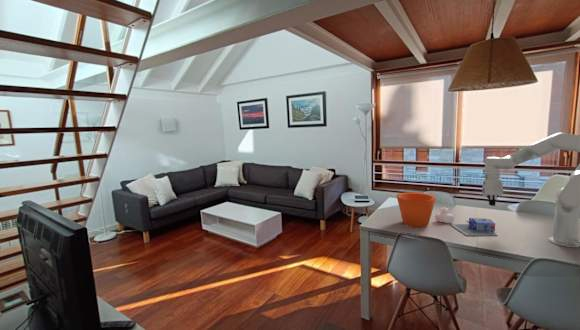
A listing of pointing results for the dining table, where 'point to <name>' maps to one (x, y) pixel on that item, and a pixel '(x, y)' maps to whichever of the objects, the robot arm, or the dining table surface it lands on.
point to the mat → (471, 230)
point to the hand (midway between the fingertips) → (492, 205)
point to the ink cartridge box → (481, 224)
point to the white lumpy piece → (444, 216)
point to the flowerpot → (416, 208)
